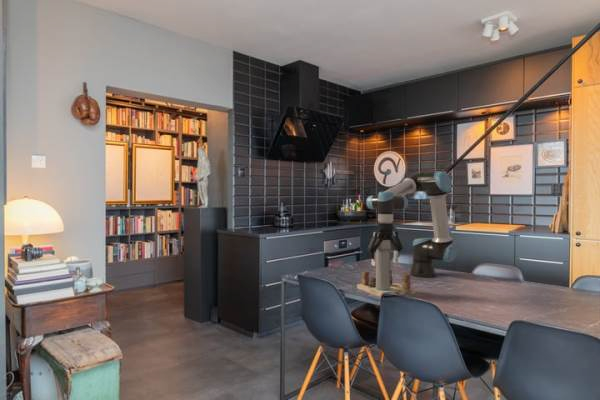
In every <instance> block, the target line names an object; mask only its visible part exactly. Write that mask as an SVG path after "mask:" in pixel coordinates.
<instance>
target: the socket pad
mask: <svg viewBox="0 0 600 400" xmlns="http://www.w3.org/2000/svg"><path fill="white" fill-rule="evenodd" d="M371 289H373V290H376V291H378V292H381V293H388V292H396V291H399V290H396V289H393V288H390V289H389V290H379V289H377V288H376V287H375V288H371Z"/></svg>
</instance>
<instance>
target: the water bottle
mask: <svg viewBox="0 0 600 400" xmlns="http://www.w3.org/2000/svg"><path fill="white" fill-rule="evenodd" d="M391 246H392V245H391V243H390V240H383V242H381V244H380V245H379V246H378V248H377V249H376V251H375V253H376V266H375V268H376V269H375V273H376V274H375V278H376V288H377V289H379V290H389V289H390V279H391V270H392V279H391V280H392V281H395V268H394V267H392V269H391V265H394V257H393V252H394V250H393V249H391Z"/></svg>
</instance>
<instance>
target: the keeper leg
mask: <svg viewBox="0 0 600 400" xmlns="http://www.w3.org/2000/svg"><path fill="white" fill-rule="evenodd" d="M391 279H392V280H391ZM391 279H390V285H391V284H392V282H393V276H392V277H391ZM369 283H370V285H369V286H370V287H375V286H376V277H374V276H369Z"/></svg>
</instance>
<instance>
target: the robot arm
mask: <svg viewBox="0 0 600 400" xmlns="http://www.w3.org/2000/svg"><path fill="white" fill-rule="evenodd" d="M451 187H452V180H451V178H450V176H449V174H448V173H447V172H446V171H439V170H438V171H436V170H435V171H421V172H418V173H414V174H412V175H409V176H407V177H406V178H404V179H403V180H402V181H401V182H400V183H398V184H396V185H394V186H392V187H390V188H388V189H387V190H385V191H379V192H378V194H376V195H369V196H367V198H366V201H365V203H366V207H367V209H369V210H374V211H375V210H377V221H378V222H377V230H378V231H377V232H376V231H373V232H372V235H371V236H372V237H371V239H370V241H369V244H368V246H367V248H366V251H368V252H370V259H371V266H374V267H376V250H378V249H377V248H378V246H379V245H380V244H381V242H383V240H390V245H391V246H392V247H393V249H394V250H393V264H395V265H399V258H400V252H401V251H402V250H403V245H402V242H401V240H400V237H399V234H398V231H394V223H393V222H394V211H403V210H404V211H405V210H406V209H407V208H408V206H409V199H408V198H407V197H406V195H408V194H413V193H415V192H416V193H417V192H419V193H420V192H424V193H426V196H427V197H428V199H429V203H430V211H431V212H430V213H431V221H432V229H433V237H426V238H425V237H422V238H421V237H420V238H415V239H414V240H413V241H412V264H411V268H410V270H409V275H411V277H418V278H433V277H436V270H435V268H434V263H433V261H438V262H439V261H440V262H444V263H446V262H448V263H450V262H453V261H455V259H456V257H457V255H458V251H459V249H458V248H459V247H458V244H457V243H456V242H454V241H453V237H452V236H450V229H449V228H450V227H449V219H448V218H449V217H448V209H447V199H446V198H447V197H446V196H447V195H448V194H449V193H448V192H450V190H451Z"/></svg>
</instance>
